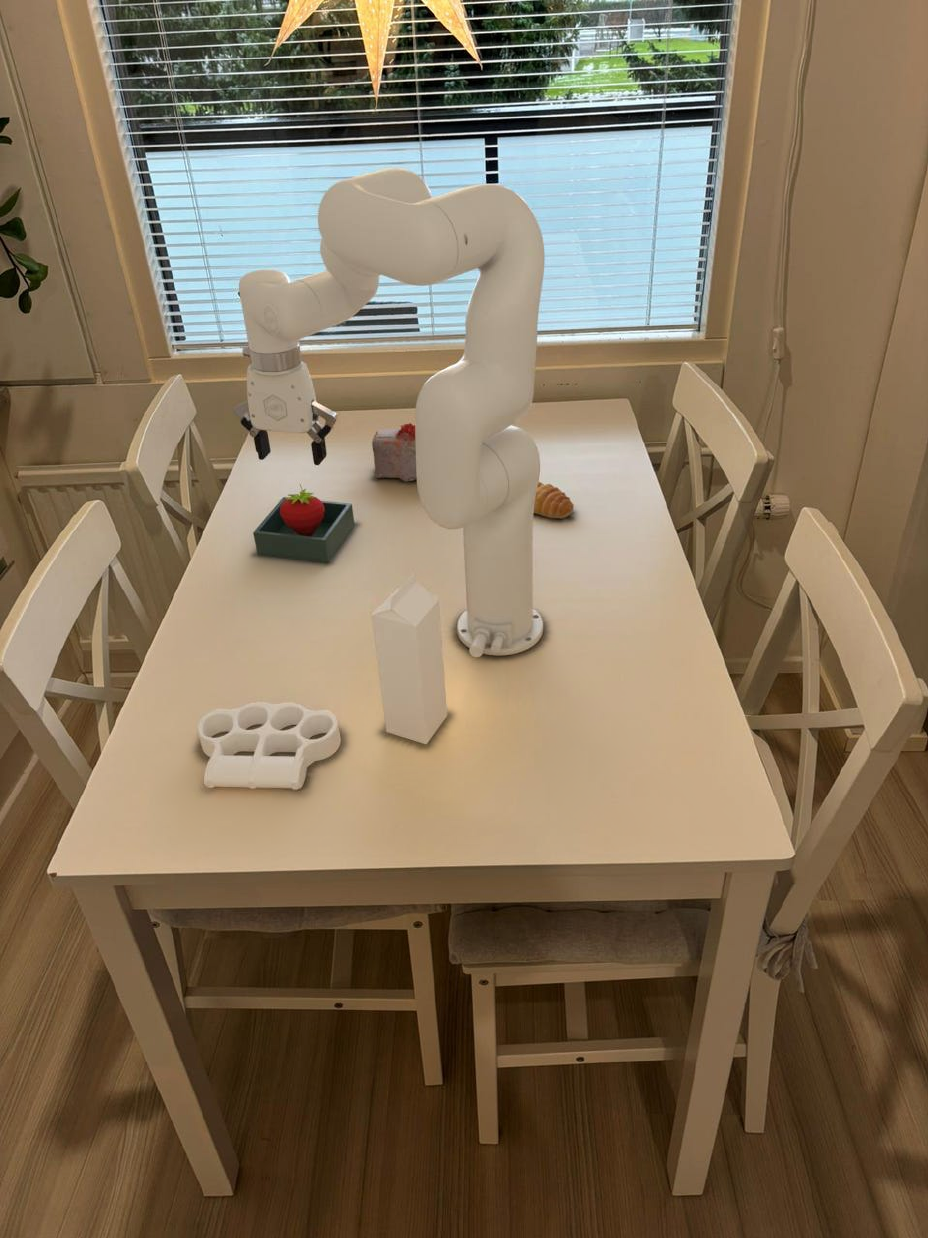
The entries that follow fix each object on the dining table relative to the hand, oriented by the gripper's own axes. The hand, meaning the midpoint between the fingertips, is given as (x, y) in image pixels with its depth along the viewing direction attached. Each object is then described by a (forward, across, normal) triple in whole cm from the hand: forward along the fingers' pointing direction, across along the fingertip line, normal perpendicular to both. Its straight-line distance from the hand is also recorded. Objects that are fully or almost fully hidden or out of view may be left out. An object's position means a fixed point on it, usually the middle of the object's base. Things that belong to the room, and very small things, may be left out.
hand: (292, 458), depth 151 cm
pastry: (+15, +39, +18) cm, 46 cm away
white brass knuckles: (+15, +16, -50) cm, 54 cm away
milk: (+15, +33, -41) cm, 54 cm away
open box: (+15, 0, 0) cm, 15 cm away
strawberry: (+15, 0, 0) cm, 15 cm away
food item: (+16, +11, +26) cm, 32 cm away
